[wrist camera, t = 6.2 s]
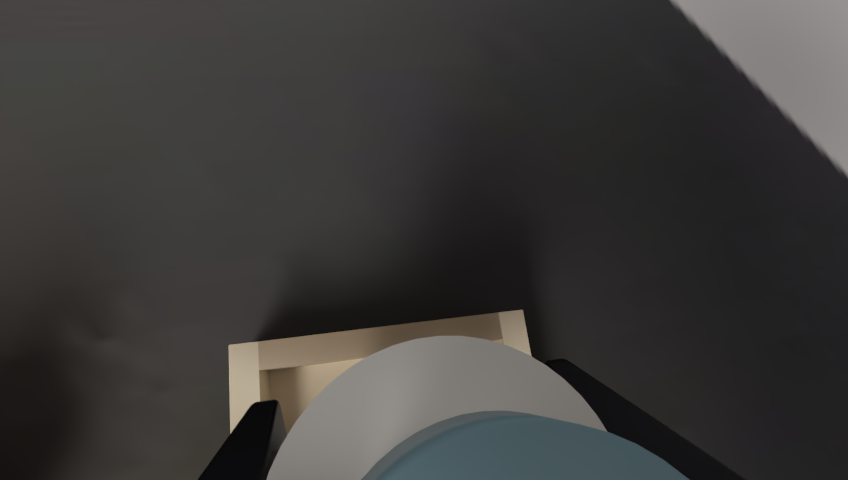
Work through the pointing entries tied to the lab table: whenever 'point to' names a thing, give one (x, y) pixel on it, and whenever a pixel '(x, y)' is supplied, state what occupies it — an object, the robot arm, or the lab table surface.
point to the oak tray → (341, 358)
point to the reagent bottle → (456, 422)
